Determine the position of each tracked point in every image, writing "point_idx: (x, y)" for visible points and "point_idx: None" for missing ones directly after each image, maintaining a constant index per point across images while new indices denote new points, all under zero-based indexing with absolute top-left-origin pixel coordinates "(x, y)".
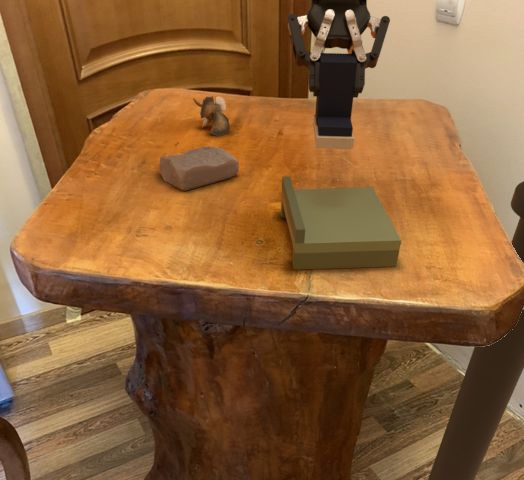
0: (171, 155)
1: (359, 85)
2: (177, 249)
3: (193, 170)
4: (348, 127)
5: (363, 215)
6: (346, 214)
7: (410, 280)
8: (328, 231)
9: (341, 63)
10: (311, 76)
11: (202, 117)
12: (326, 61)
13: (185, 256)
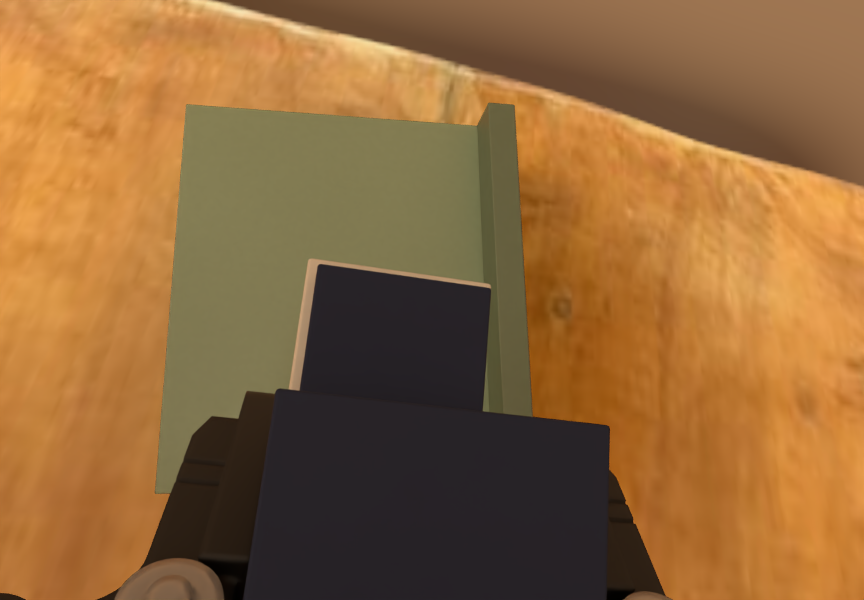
0: None
1: (245, 405)
2: (763, 288)
3: None
4: (341, 268)
5: (262, 264)
6: None
7: (184, 85)
8: (399, 177)
9: (427, 405)
10: (616, 510)
11: None
12: (564, 444)
13: (739, 254)
